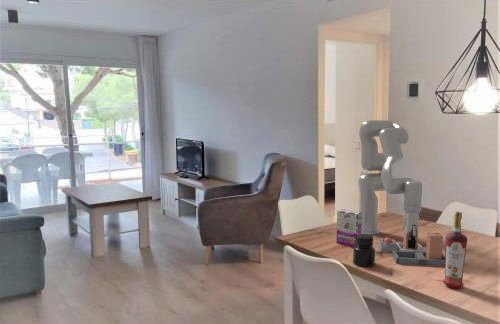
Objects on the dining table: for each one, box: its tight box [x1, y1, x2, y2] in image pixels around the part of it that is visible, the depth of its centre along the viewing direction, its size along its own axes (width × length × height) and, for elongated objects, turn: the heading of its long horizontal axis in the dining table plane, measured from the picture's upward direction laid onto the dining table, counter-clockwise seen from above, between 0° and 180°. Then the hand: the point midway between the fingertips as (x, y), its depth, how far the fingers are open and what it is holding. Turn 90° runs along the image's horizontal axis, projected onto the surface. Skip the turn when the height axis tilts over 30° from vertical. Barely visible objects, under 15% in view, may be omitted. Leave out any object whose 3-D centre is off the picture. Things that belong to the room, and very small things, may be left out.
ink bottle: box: [352, 234, 376, 268], centre depth 180 cm, size 10×9×12 cm
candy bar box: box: [336, 209, 362, 248], centre depth 205 cm, size 11×5×16 cm, turn 47°
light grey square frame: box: [396, 242, 426, 252], centre depth 196 cm, size 11×11×2 cm
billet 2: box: [425, 231, 444, 260], centre depth 180 cm, size 5×5×12 cm
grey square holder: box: [378, 238, 398, 254], centre depth 197 cm, size 7×7×4 cm
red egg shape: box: [384, 237, 392, 243], centre depth 197 cm, size 3×3×4 cm
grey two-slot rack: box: [391, 250, 445, 267], centre depth 182 cm, size 21×10×3 cm, turn 82°
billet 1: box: [402, 229, 419, 250], centre depth 195 cm, size 5×5×12 cm
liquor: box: [442, 211, 468, 290], centre depth 156 cm, size 7×7×28 cm
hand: (410, 245), depth 195 cm, fingers closed on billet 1, 5 cm apart
